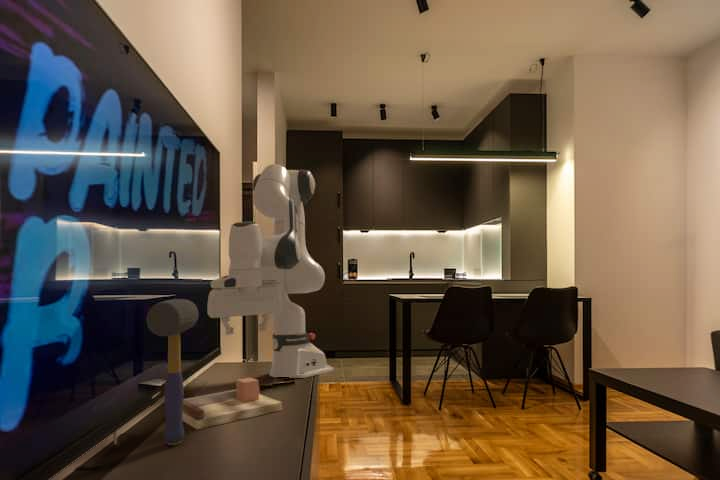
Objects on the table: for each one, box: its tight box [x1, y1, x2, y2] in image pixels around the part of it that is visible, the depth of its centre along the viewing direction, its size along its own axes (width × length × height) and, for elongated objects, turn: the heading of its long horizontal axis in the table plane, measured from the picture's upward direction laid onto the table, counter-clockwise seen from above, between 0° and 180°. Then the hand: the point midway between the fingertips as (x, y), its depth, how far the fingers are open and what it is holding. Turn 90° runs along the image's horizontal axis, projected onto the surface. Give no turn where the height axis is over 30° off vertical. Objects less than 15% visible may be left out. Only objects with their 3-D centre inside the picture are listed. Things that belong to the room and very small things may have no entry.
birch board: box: [182, 393, 283, 430], centre depth 122 cm, size 22×14×4 cm, turn 129°
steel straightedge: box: [183, 389, 236, 406], centre depth 127 cm, size 22×2×2 cm, turn 129°
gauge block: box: [235, 377, 260, 402], centre depth 128 cm, size 4×5×5 cm
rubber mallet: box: [146, 298, 199, 446], centre depth 102 cm, size 12×8×30 cm, turn 0°
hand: (246, 332), depth 129 cm, fingers open, 8 cm apart
